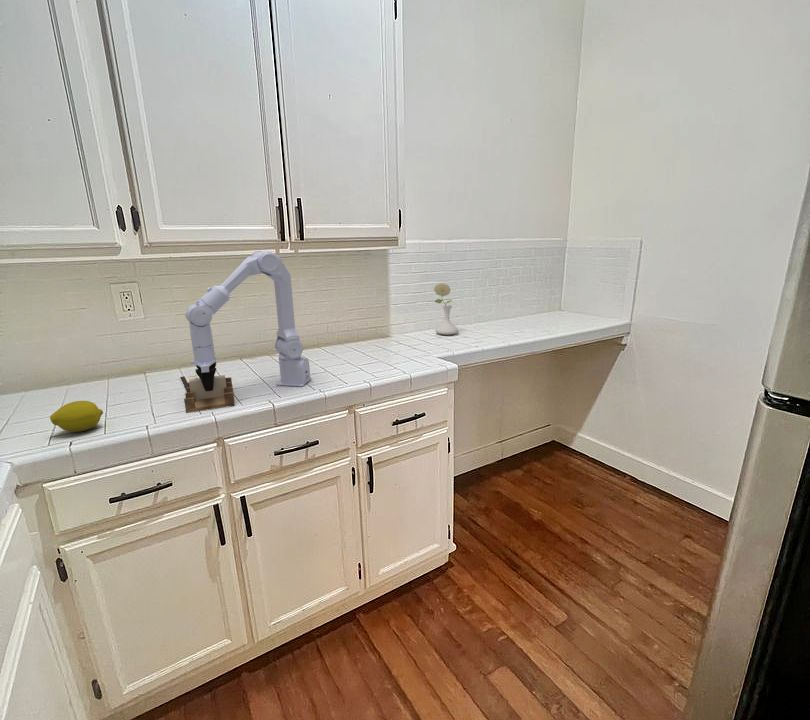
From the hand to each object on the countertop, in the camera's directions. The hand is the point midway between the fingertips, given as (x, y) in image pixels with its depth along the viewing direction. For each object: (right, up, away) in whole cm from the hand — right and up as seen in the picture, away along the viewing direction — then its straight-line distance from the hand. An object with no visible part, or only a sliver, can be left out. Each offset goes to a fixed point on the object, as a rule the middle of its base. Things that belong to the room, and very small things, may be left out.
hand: (209, 388), depth 133 cm
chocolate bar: (-11, 0, +17) cm, 20 cm away
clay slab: (0, -3, +1) cm, 3 cm away
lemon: (-25, -10, -19) cm, 33 cm away
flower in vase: (+80, +22, +83) cm, 117 cm away
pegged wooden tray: (0, -4, +1) cm, 4 cm away
